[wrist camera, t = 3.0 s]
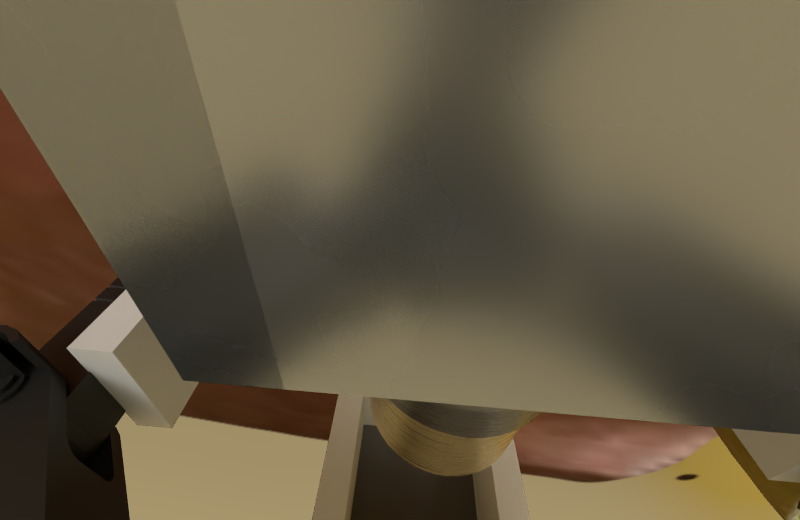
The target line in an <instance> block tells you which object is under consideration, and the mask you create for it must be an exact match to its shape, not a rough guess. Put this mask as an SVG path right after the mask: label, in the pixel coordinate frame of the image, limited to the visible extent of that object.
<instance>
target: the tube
mask: <svg viewBox="0 0 800 520" xmlns="http://www.w3.org/2000/svg"><path fill="white" fill-rule="evenodd" d="M370 402H371V410H372V414H373V418H374V421H375V423H376V426H377V428H378V430H379V432H380V434H381V436H382V437H383V438H384V440H385V441H386V443H387V444H388V445H389V446H390V447H391V449H392V450H393V451H394V452H395V453H396V454H398V455H399V456H400V457H401V458H402V459H403V460H405V461H406V462H408V463H410V464H411V465H413V466H414V467H417V468H419V469H421V470H423V471H426V472H429V473H432V474H436V475H442V476H464V475H470V474H473V473H476V472H479V471H481V470H483V469H485V468H487V467H489V466H490V465H491V464H493V463H494V462H495V461H496V460H497V459H498V458H499V457H500V456H501V455H502V454H503V453H504V451H505V450H506V448H507V447H508V445H509V444H510V442H511V441H512V439H513V438H514V436H515V435H516V433H517V431H518V430H519V428H521V427H523V426H525V425H526V424H528V423H529V422H530V421H532V420H533V419H534V418H535V417H536V416H537V415H538V414H539V413H540V412H537V411H525V410H514V409H502V408H491V407H480V406H468V405H457V404H445V403H434V402H423V401H411V400H400V399H388V398H377V397H370Z"/></svg>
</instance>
